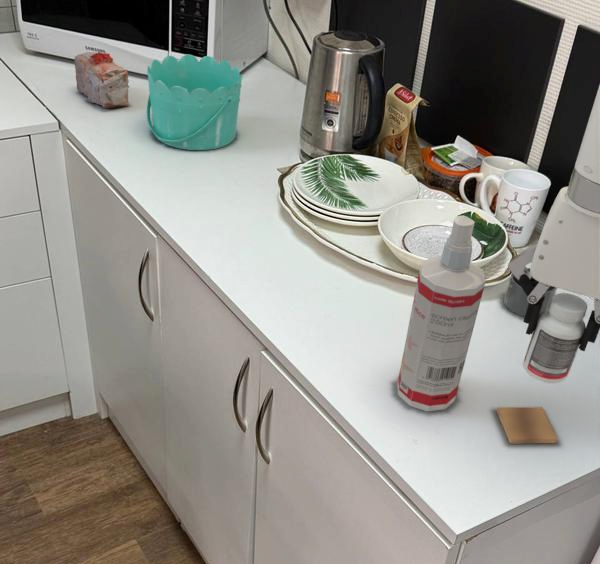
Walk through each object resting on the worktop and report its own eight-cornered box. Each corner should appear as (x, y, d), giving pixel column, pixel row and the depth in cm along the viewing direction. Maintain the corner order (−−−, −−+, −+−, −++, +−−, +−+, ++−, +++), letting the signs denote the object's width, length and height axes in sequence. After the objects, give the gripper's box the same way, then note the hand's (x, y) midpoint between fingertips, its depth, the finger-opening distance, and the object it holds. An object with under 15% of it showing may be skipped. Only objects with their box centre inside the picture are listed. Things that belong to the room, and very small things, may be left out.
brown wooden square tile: (540, 411, 105) (542, 407, 104) (556, 443, 100) (558, 438, 99) (496, 411, 104) (497, 407, 103) (509, 443, 99) (511, 439, 99)
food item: (135, 107, 174) (132, 60, 168) (102, 113, 170) (98, 65, 163) (103, 87, 182) (99, 41, 175) (71, 93, 177) (66, 46, 171)
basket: (256, 144, 164) (259, 79, 155) (176, 160, 155) (174, 92, 147) (210, 111, 175) (210, 49, 167) (133, 124, 167) (129, 60, 158)
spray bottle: (466, 400, 105) (513, 228, 89) (423, 418, 102) (463, 242, 86) (428, 367, 110) (466, 199, 94) (385, 383, 107) (416, 211, 91)
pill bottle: (575, 383, 95) (602, 314, 88) (533, 386, 93) (558, 317, 87) (554, 355, 99) (579, 287, 92) (514, 358, 97) (537, 290, 91)
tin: (541, 293, 127) (549, 268, 124) (555, 318, 122) (564, 293, 119) (498, 292, 126) (505, 267, 124) (511, 317, 121) (518, 292, 118)
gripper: (697, 197, 81) (636, 342, 93) (531, 157, 86) (492, 300, 98) (692, 228, 76) (628, 377, 88) (515, 183, 81) (476, 330, 93)
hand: (557, 335), depth 93 cm, fingers closed on pill bottle, 5 cm apart
